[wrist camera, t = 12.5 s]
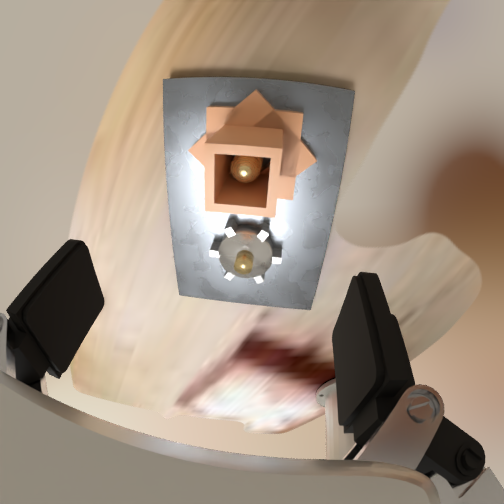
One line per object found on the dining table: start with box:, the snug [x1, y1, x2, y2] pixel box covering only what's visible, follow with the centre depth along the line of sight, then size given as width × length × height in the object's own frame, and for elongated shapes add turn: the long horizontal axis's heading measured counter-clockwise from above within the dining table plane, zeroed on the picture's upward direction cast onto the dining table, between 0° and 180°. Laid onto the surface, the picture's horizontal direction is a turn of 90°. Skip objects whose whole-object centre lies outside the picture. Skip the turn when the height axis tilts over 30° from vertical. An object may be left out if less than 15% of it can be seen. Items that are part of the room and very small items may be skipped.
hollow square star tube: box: [188, 90, 317, 218], centre depth 19 cm, size 10×10×7 cm
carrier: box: [163, 77, 355, 310], centre depth 24 cm, size 15×23×7 cm, turn 177°
